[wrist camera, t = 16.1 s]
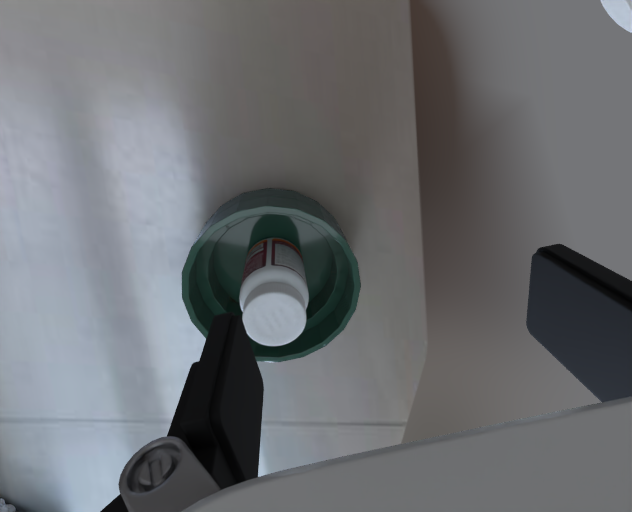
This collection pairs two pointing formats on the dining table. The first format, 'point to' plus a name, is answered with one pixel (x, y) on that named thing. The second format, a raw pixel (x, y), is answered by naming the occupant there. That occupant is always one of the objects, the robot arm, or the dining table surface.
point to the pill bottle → (274, 292)
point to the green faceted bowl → (231, 252)
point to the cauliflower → (6, 506)
